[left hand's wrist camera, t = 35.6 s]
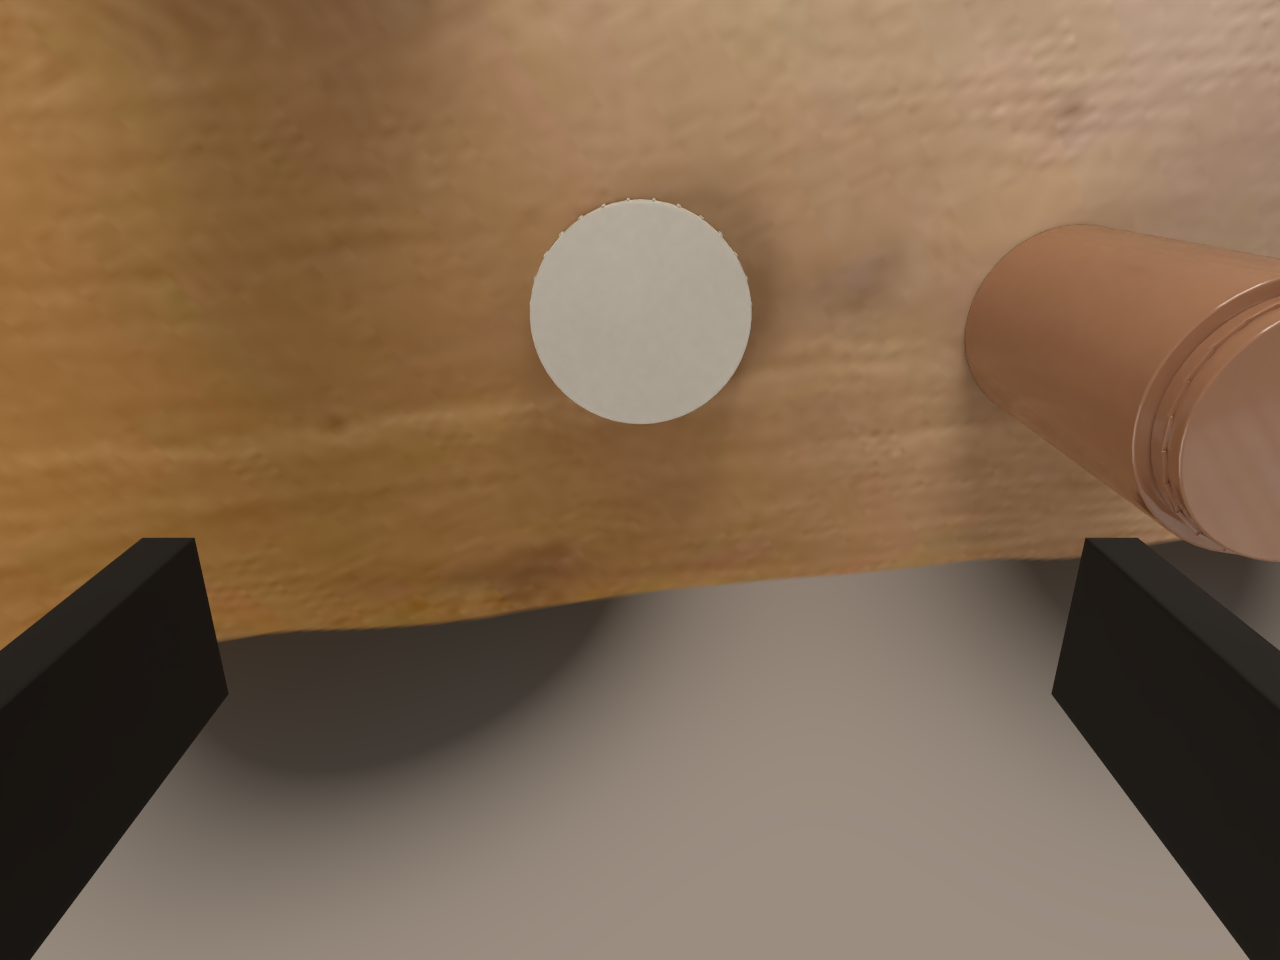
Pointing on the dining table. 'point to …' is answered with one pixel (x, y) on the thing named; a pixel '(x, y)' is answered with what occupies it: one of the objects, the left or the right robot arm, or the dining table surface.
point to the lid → (640, 311)
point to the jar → (1145, 373)
